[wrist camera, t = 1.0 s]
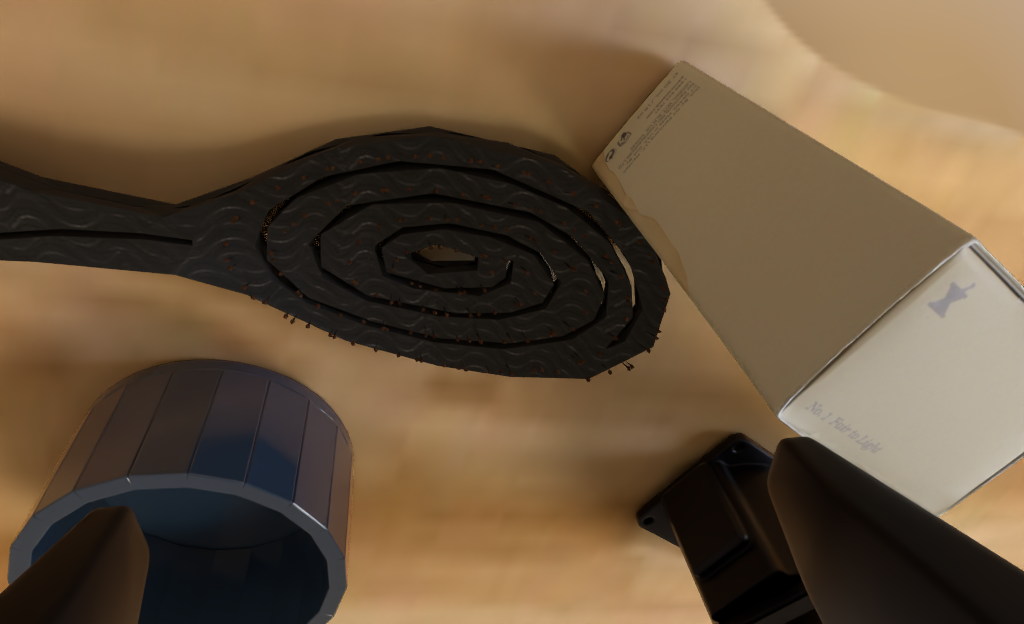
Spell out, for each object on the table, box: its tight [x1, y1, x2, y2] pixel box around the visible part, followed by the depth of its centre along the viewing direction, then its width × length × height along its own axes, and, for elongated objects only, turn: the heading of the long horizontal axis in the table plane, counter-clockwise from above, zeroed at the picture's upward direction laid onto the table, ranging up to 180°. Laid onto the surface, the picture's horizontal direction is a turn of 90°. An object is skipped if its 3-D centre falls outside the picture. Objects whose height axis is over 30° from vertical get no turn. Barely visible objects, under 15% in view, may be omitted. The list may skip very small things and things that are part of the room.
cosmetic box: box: [593, 61, 1024, 517], centre depth 17 cm, size 6×4×12 cm
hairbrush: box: [0, 126, 670, 382], centre depth 20 cm, size 8×4×25 cm
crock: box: [8, 360, 354, 624], centre depth 24 cm, size 10×10×6 cm
